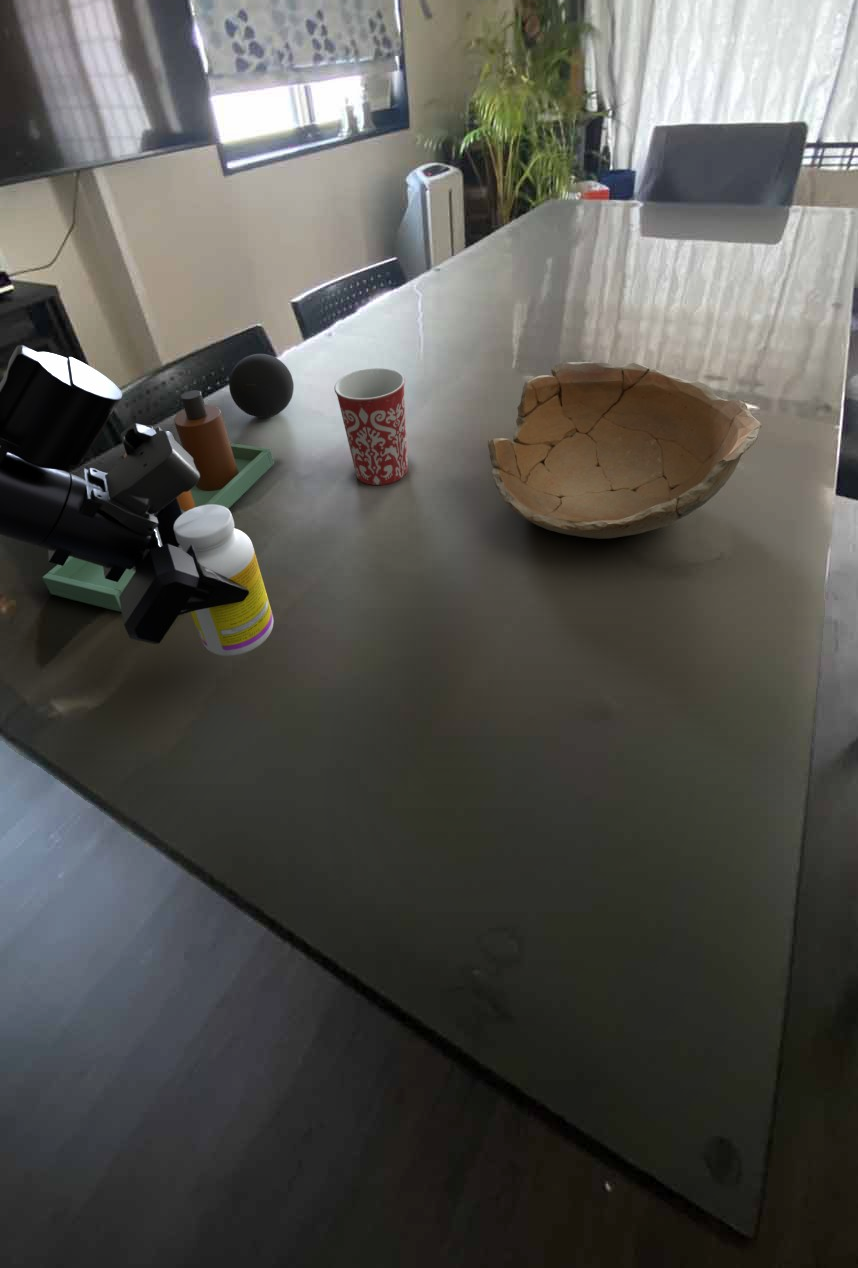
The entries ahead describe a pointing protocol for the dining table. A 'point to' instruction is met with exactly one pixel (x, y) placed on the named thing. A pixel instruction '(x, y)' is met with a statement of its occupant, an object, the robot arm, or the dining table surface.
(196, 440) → the dark amber bottle
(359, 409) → the mug
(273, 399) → the speaker
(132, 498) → the robot arm
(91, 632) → the dining table surface
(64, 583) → the tray
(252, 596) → the supplement bottle
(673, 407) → the ceramic bowl
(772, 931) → the dining table surface
